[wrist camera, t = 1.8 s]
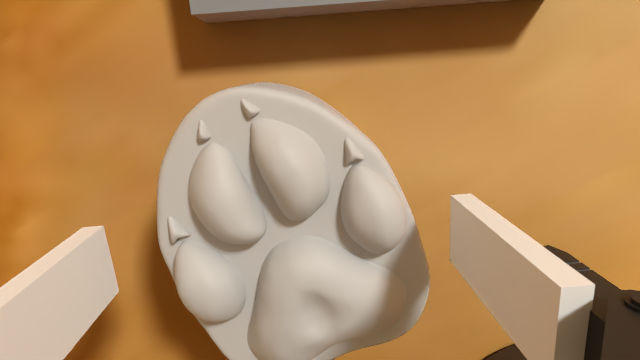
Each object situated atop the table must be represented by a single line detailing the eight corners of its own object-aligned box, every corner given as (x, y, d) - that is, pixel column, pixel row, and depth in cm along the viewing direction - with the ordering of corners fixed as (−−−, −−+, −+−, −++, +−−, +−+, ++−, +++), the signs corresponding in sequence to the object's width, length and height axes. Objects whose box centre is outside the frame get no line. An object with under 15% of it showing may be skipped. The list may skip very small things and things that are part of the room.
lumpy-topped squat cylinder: (260, 313, 25) (240, 431, 17) (155, 127, 22) (66, 159, 14) (412, 248, 25) (469, 338, 16) (327, 46, 21) (343, 28, 13)
